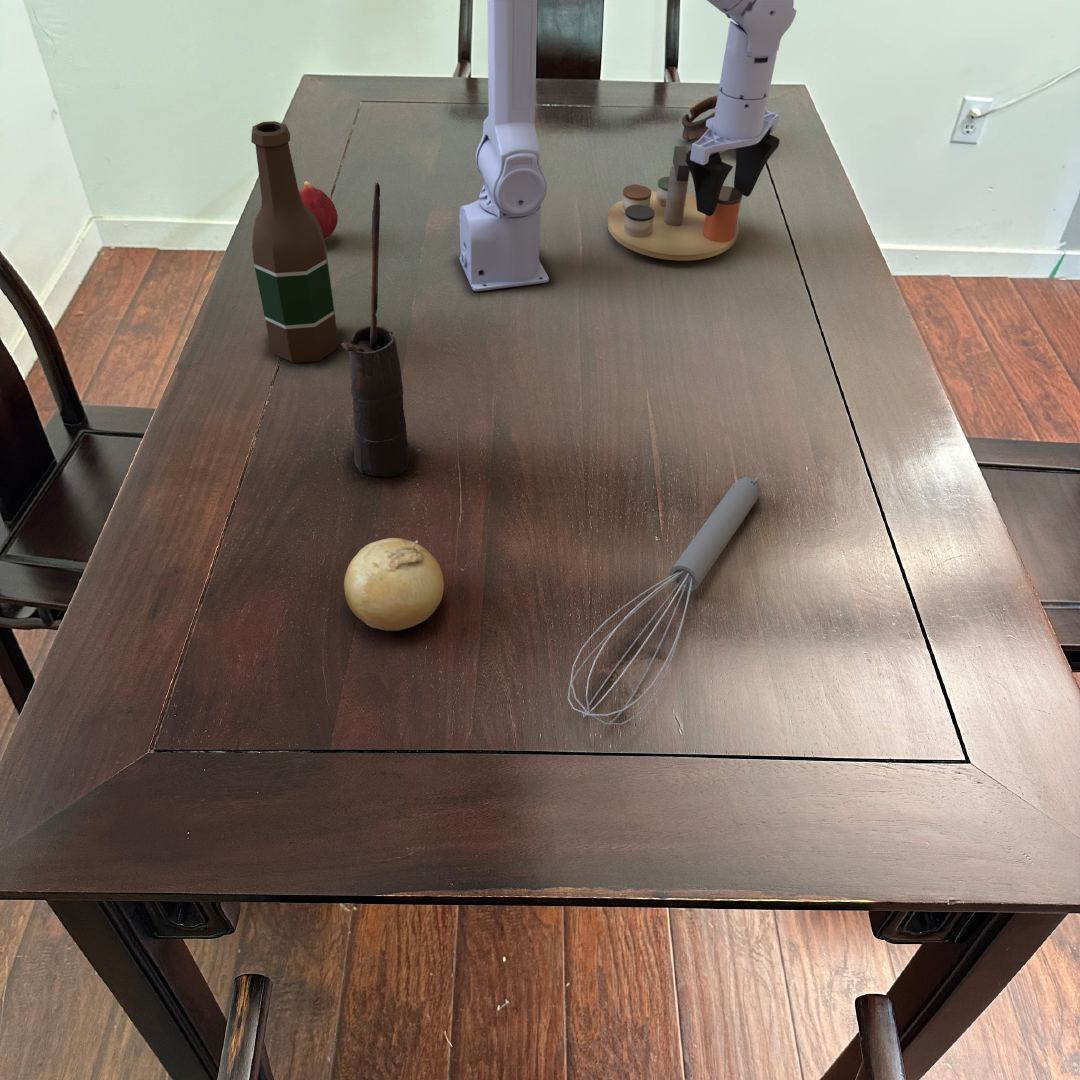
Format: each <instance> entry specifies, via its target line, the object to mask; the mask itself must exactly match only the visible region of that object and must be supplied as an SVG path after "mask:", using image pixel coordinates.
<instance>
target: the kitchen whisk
mask: <svg viewBox="0 0 1080 1080" xmlns="http://www.w3.org/2000/svg"><path fill="white" fill-rule="evenodd" d="M760 475H761V472H757V473H756V474H755V476H754V477H753V478H751V477H748V476H744V477H740V478H739V479H738V480H736V481H734V483H732V485H730V488H729V489H728V490H727V492H726V493H725V494H724V496H723V497H722V498H721V500H720V501H719V502H718V504H717V505H716V507H714V509H713V511H712V512H711V514H710V515H709V516H708V518H706V520H705V522H704V523H703V525H702V526H701V527H700V529H699V530H698V531H697V533H696V534H695V535H694V537H693V538H692V540H691V541H690V542H689V544H688V545H687V547H685V550H684V551H683V552H682V554H681V555H680V556H679V558H678V559H677V560H676V561H675V563H674V565H672V567H671V569H670V571H669V576H668V577H666V578H665V579H662V580H661V581H659V582H657V583H656V584H654V585H653V586H651V587H649V588H648V589H646V590H645V591H643V592H642V593H640V594H638V595H637V596H636V597H634V598H633V599H632V600H630V601H629V602H628V603H626V604H625V605H623V606H622V607H620V608H619V609H618V610H617V611H615V613H613V614H612V615H611V616H610V617H608V618H607V619H606V620H605V621H604V622H603V623H602V624H601V625H600V626H599V627H598V628H597V629H596V630H595V631H594V632H593V633H592V634H591V636H590V637H588V639H587V640H586V642H585V643H584V644H583V646H581V648H580V650H579V652H578V654H577V655H576V656H577V657H576V658H575V660H574V662H573V664H572V667H571V674H570V675H571V676H570V684H569V685H568V686H569V687H568V695H567V700H568V702H569V704H570V706H571V708H572V709H573V711H576V712H578V713H581V714H582V718H586V717H587V716H588V717H590V718H591V720H592V722H593V723H594V726H599V727H603V728H605V727H607V726H608V725H610V726H622V725H624V724H626V723H628V722H631V721H633V720H635V719H637V717H638V716H640V714H641V713H642V712H644V711H645V710H646V708H648V706H649V705H650V704H651V702H652V700H653V699H654V698H655V696H656V694H657V693H658V691H659V690H660V688H661V685H662V683H663V681H664V679H665V677H666V675H667V673H668V671H669V668H670V665H671V662H672V660H673V657H674V654H675V652H676V648H677V646H678V642H679V639H680V635H681V632H682V629H683V625H684V622H685V621H684V620H685V617H686V613H687V608H688V604H689V600H690V595H691V592H693V591H695V590H697V588H698V587H699V586H700V584H702V583H701V582H702V581H703V580H704V579H705V577H706V576H707V574H708V573H709V571H710V570H711V568H712V567H713V566H714V564H715V562H716V561H717V560H718V558H719V556H720V555H721V554H722V552H723V551H724V550H725V548H726V546H727V545H728V543H729V542H730V540H731V539H732V537H733V536H734V534H735V533H736V532H737V530H738V529H739V527H740V526H741V525H742V523H743V522H744V520H745V518H746V517H747V515H748V514H749V513H750V511H751V509H752V508H753V507H754V505H755V504H756V502H757V501H758V499H759V495H760V492H761V489H760V485H759V483H758V482H757V480H758V479H759V476H760ZM672 583H673V585H674V586H675V587H674V588H673V590H672V591H671V593H670V594H669V595H668V596H667V597H666V599H665V600H664V601H663V603H661V605H660V607H659V608H658V609H657V611H656V612H655V613H654V614H653V616H652V617H651V619H649V621H648V622H647V623H646V625H645V627H644V628H642V630H641V632H640V633H639V634H638V636H637V637H636V639H635V640H634V641H633V642H632V643H631V645H630V646H629V648H628V649H627V650H626V651H625V653H624V654H623V656H622V657H621V659H619V661H618V663H616V665H615V666H614V668H613V669H612V671H611V672H610V673H609V674H608V676H607V678H606V679H605V680H604V681H603V683H602V685H601V686H600V687H599V689H598V690H597V692H596V693H595V694H594V696H593V697H592V699H591V700H590V701H589V697H588V695H589V687H590V679H591V676H592V674H593V670H594V668H595V665H596V662H597V660H598V659H599V657H600V655H601V653H602V652H603V650H604V648H605V646H606V645H607V643H608V642H609V641H610V639H611V638H612V636H613V635H614V634H615V633H616V631H617V630H618V629H619V627H621V625H623V624H624V623H625V622H627V620H628V619H629V618H630V617H632V616H633V615H634V614H635V613H637V611H639V610H640V609H641V608H642V607H643V606H644V605H646V604H647V603H648V602H650V600H652V599H653V598H654V597H655V596H657V595H658V594H659V593H661V591H663V590H664V589H666V588H667V587H668V586H669V585H671V584H672ZM659 585H660V586H659ZM656 587H657V588H656ZM654 588H656V589H654ZM652 589H654V590H653V591H652V592H651V593H649V594H648V595H647V596H646V597H645V598H644V599H642V600H641V601H640V602H639V603H638V604H637V605H635V607H634V608H633V609H632V610H631V611H630V612H628V613H627V615H626V616H624V618H623V619H621V621H620V623H618V624H617V626H615V628H614V629H613V630H612V631H611V632H610V633H608V635H606V636H605V637H604V638H603V640H601V641H600V643H599V644H598V645H597V646H596V647H595V648H593V650H592V651H591V652H590V654H589V655H588V656H587V657H586V659H585V660H584V661H583V663H582V664H580V667H579V668H578V669H577V671H576V672H574V671H575V666H576V664H577V662H578V661H579V658H580V656H581V654H582V652H583V650H584V649H585V648H586V647H587V645H588V644H589V642H590V641H591V640H592V638H593V637H594V636H595V635H596V634H597V633H598V632H599V631H600V630H601V628H603V627H604V626H605V625H606V624H607V623H608V622H609V621H611V620H612V618H614V617H615V616H617V614H619V613H620V612H622V610H623V609H625V608H626V607H627V606H629V605H630V604H632V603H633V602H635V601H636V600H637V599H638V598H640V597H642V596H643V595H644V594H647V593H648V592H650V591H651V590H652ZM676 590H677V591H676ZM675 591H676V593H675V594H674V592H675ZM680 591H681V593H680V596H679V598H678V601H677V603H676V606H675V608H674V610H673V612H672V615H671V618H670V620H669V622H668V624H667V626H666V628H665V631H664V633H663V635H662V637H661V640H660V642H659V644H658V646H657V648H656V651H655V653H654V654H653V657H652V658H651V660H650V662H649V664H648V667H647V668H646V670H645V672H644V674H643V676H642V677H641V679H640V681H639V683H638V685H637V686H636V688H635V690H634V692H633V693H632V695H631V696H630V698H629V699H628V700H627V702H626V704H625V705H624V706H623V708H621V709H619V710H616V711H613V712H609V713H592V712H593V711H594V710H595V709H596V708H597V707H598V706H599V705H600V704H601V703H602V702H603V700H604V699H605V698H606V697H607V696H608V694H609V693H611V691H612V690H613V689H614V687H615V686H616V685H617V684H618V682H619V681H620V679H621V678H622V677H623V676H624V674H626V672H627V670H628V669H629V668H630V667H631V665H632V663H633V662H634V661H635V660H636V658H637V656H638V655H639V654H640V653H641V651H642V649H643V648H644V646H645V645H646V643H647V642H648V641H649V639H650V638H651V636H652V635H653V633H654V632H655V630H656V629H657V627H658V626H659V624H660V622H661V621H662V619H663V618H664V617H665V615H666V613H667V611H668V610H669V608H670V607H671V606H672V604H673V602H674V600H675V598H676V597H677V595H678V594H679V592H680ZM684 592H687V596H686V600H685V601H686V602H685V605H684V610H683V613H682V617H681V621H680V624H679V626H678V630H677V633H676V636H675V638H674V640H673V642H672V643H673V644H672V645H671V646H672V647H671V648H670V651H669V652H668V655H667V657H666V659H665V660H664V663H663V664H662V666H661V668H660V670H659V671H658V673H657V674H656V676H655V677H654V679H653V681H652V682H651V684H650V685H649V686H648V687H647V688H646V689H645V690H644V692H642V693H641V695H640V696H639V697H638V698H637V699H635V700H634V701H632V702H631V700H632V699H633V698H634V697H635V696H636V693H637V691H638V690H639V688H640V686H641V685H642V683H643V681H644V679H645V678H646V676H647V674H648V672H649V670H650V668H651V666H652V664H653V662H654V660H655V658H656V656H657V654H658V652H659V650H660V648H661V646H662V643H663V642H664V639H665V637H666V635H667V633H668V630H669V628H670V626H671V623H672V622H673V619H674V616H675V614H676V612H677V609H678V607H679V605H680V603H681V600H682V597H683V595H684ZM673 594H674V595H673ZM672 595H673V598H672V599H671V600H670V602H669V604H668V605H667V607H666V608H665V610H664V611H663V613H662V614H661V615H660V618H659V619H658V621H657V622H656V624H655V626H654V627H653V628H652V630H651V631H650V633H649V634H648V636H647V637H646V638H645V640H644V642H643V643H642V644H641V646H640V647H639V649H638V650H637V652H636V653H635V654H634V656H633V657H632V659H631V660H630V661H629V663H628V664H627V666H626V667H625V668H624V670H623V671H622V672H621V674H620V675H619V676H618V677H617V679H616V680H615V681H614V683H613V684H612V685H611V687H610V688H609V689H608V690H607V691H606V692H605V694H604V695H603V696H602V697H601V699H599V700H598V702H597V703H596V704H595V705H593V706H592V708H590V706H591V705H592V704H593V702H594V701H595V699H596V697H597V696H598V694H599V693H601V690H602V689H603V688H604V687H605V685H606V683H607V682H608V680H609V679H610V678H611V676H613V674H614V672H615V671H616V669H617V668H618V667H619V665H620V664H621V663H622V662H623V660H624V659H625V657H626V656H627V655H628V653H629V652H630V650H631V649H632V648H633V646H634V645H635V644H636V643H637V641H638V640H639V638H640V637H641V636H642V635H643V633H644V632H645V631H646V629H647V628H648V626H650V624H651V623H652V621H653V620H654V619H655V617H656V616H657V615H658V613H660V610H661V609H662V608H663V607H664V605H665V604H666V603H667V602H668V600H669V599H670V598H671V596H672ZM601 645H602V646H601ZM600 646H601V648H600ZM599 648H600V650H599V651H598V653H597V655H596V656H595V658H594V660H593V662H592V666H591V667H590V671H589V674H588V676H587V682H586V689H585V701H586V707H585V706H584V705H583V704H582V702H581V701H580V700H579V699H578V697H577V695H576V691H575V687H574V682H575V680H576V678H577V677H578V674H579V672H580V671H581V670H582V668H583V667H584V666H585V665H586V663H587V662H588V660H589V659H590V658H591V656H592V655H593V654H594V653H595V652H596V651H597V650H598V649H599ZM667 662H668V663H667ZM666 664H667V666H666ZM665 667H666V669H665ZM664 669H665V671H664ZM663 671H664V673H663V675H662V677H661V679H660V682H659V683H658V686H657V688H656V690H655V691H654V693H653V694H652V695H651V697H650V699H648V701H647V703H646V704H645V705H644V707H642V709H640V711H638V713H636V714H635V715H634V716H633V717H631V718H629V719H626V720H625V721H622V722H615V721H616V720H617V719H618V718H619V716H620V715H621V714H622V713H623V712H624V711H626V710H627V709H629V708H630V707H631V706H632V705H634V704H636V703H637V702H639V701H640V700H641V699H642V698H643V696H645V694H646V693H647V692H648V691H649V690H650V689H651V688H652V687H653V685H654V684H655V682H657V679H658V678H659V677H660V675H661V673H662V672H663ZM574 673H575V674H574ZM571 690H572V694H573V697H574V699H575V701H576V702H577V704H578V705H579V706H580V707H581V709H583V710H581V709H578V708H576V707H575V706H574V703H573V702H572V700H571V699H570V698H571V697H570V696H571ZM630 702H631V703H630ZM614 714H617V715H616V716H615V717H614V718H613V719H612V720H610V721H608V722H606V721H604V720H602V719H601V718H599V717H609V716H612V715H614ZM596 720H597V721H599V722H601V723H597V721H596ZM607 724H608V725H607Z"/></svg>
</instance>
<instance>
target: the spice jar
mask: <svg viewBox="0 0 1080 1080" xmlns="http://www.w3.org/2000/svg"><path fill="white" fill-rule="evenodd" d="M742 199H743V195H742V193H741V192H740V191H739V190H738V189H736V188H734V186H729V185H723V186H722V189H721V192H720V195H719V199H718V203H717V206H716V209H715V212H714V214H713V215H711V216H707V215H706V217H705V223H704V229H703V235H704V236H705V237H706V238H707V239H709V240H712V241H715V242H727V241H730V240H732V239H733V238H734V235H735V230H736V224H737V223H738V218H739V213H740V208H741V204H742Z"/></svg>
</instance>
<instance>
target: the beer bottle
mask: <svg viewBox="0 0 1080 1080" xmlns="http://www.w3.org/2000/svg"><path fill="white" fill-rule="evenodd" d="M250 139H251V143H252V144H253V145H254V146H255V155H256V162H257V169H258V170H257V171H258V178H259V187H260V188H259V189H260V196H261V207H260V208H259V211H258V213H257V215H256V217H255V218H254V223H253V228H252V240H251V247H252V248H251V250H252V257H253V265H254V270H255V275H256V281H257V286H258V291H259V295H260V301H261V306H262V310H263V316H264V320H265V321H264V322H265V326H266V331H267V336H268V341H269V344H270V347H271V352H272V353H273V354H274V355H276V356H278V357H280V358H281V359H284V360H286V361H289V362H290V363H292V364H297V363H309V362H320V361H322V359H324V358H326V357H328V355H330V354H331V353H333V352H335V351H336V350H337V349H338V346H339V345H338V333H337V332H338V331H337V319H336V311H335V303H334V298H333V289H332V282H331V275H330V269H329V261H328V254H327V246H326V245H327V244H326V241H325V240H324V236H323V231H322V228H321V226H320V224H319V222H318V221H317V219H316V217H315V215H314V214H313V213H312V212H311V211H310V210H309V209H308V208H307V207H306V206H305V205H304V204H303V201H302V198H301V196H300V193H299V192H300V190H299V186H298V180H297V176H296V171H295V167H294V162H293V158H292V153H291V149H290V144H289V143H290V141H291V132H290V131H289V128H288V125H287V124H285V123H282V122H279V121H275V120H273V121H271V120H270V121H262V122H259V123H257V124H255V125H253V126H252V127H251V138H250Z"/></svg>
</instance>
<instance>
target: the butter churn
mask: <svg viewBox="0 0 1080 1080" xmlns="http://www.w3.org/2000/svg"><path fill="white" fill-rule="evenodd" d="M380 197H381V187H380V183H378V182H375V183H374V192H373V205H372V210H371V286H370V287H371V288H370V290H371V298H370V299H371V300H370V312H371V313H370V317H371V319H370V325H366V326H364V327H362V328H360V329H358V330H356V331H355V332H354V334H353V335H352V338H351V339H350V340H349V343H348V342H345V341H343V342H341V343H340V345H341V347H342V348H343V349H344V350H346V352H348V353H349V358H350V364H349V365H350V367H349V368H350V370H349V371H350V380H351V382H350V393H351V397H352V414H353V433H354V434H353V445H354V446H353V447H354V448H353V450H354V453H353V455H354V464H355V467H356V468H357V470H358V471H359V472H360V474H367V475H370V476H374V477H383V478H389V477H394V476H398V475H399V474H402V473H403V472H404V471H405V470H406V469H407V468H408V467H409V464H410V453H409V443H408V433H407V423H406V417H405V410H404V397H403V396H404V384H403V380H402V368H401V364H400V358H399V357H400V356H399V352H398V346H397V342H396V338H395V336H394V334H393V331H392V330H389V329H388V328H387V327H385V326H383V325H378V317H377V312H378V306H379V305H378V303H379V301H378V300H379V297H378V296H379V295H378V294H379V293H378V290H379V258H380V257H379V255H380V253H379V252H380V224H381V223H380V220H381V200H380Z"/></svg>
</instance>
